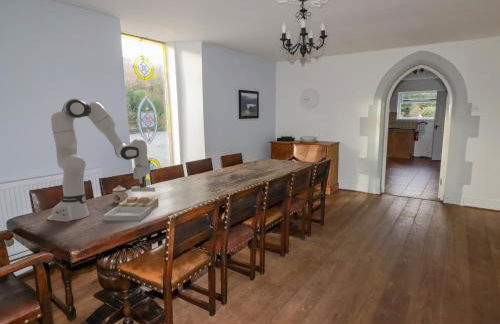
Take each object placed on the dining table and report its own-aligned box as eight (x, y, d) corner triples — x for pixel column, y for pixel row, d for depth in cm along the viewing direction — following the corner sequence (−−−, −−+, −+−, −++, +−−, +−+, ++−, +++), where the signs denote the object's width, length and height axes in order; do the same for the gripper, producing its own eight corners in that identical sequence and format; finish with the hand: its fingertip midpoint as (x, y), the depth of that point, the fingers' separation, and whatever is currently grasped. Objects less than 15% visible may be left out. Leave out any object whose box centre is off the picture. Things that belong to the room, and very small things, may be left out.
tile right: (138, 202, 194) (138, 199, 194) (141, 200, 199) (141, 197, 199) (146, 202, 194) (146, 199, 194) (149, 200, 199) (149, 197, 198)
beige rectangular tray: (119, 211, 191) (118, 204, 190) (130, 203, 208) (130, 197, 207) (149, 212, 190) (148, 204, 189) (158, 204, 207) (158, 197, 206)
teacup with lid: (110, 202, 211) (109, 186, 209) (120, 199, 220) (119, 183, 218) (122, 204, 207) (121, 188, 205) (132, 200, 215) (131, 185, 213)
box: (103, 220, 174) (103, 215, 174) (117, 211, 191) (117, 206, 190) (140, 221, 173) (139, 215, 173) (150, 212, 190) (150, 206, 189)
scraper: (131, 191, 203) (130, 177, 202) (133, 190, 206) (132, 176, 205) (153, 191, 203) (153, 177, 201) (155, 190, 206) (154, 176, 204)
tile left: (126, 202, 194) (126, 199, 194) (130, 200, 199) (130, 197, 199) (134, 202, 194) (134, 199, 194) (137, 200, 199) (137, 197, 199)
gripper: (139, 165, 191) (141, 186, 193) (151, 160, 211) (152, 179, 213) (130, 165, 191) (131, 186, 193) (142, 160, 211) (144, 179, 214)
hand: (142, 182), depth 203 cm, fingers closed on scraper, 3 cm apart
